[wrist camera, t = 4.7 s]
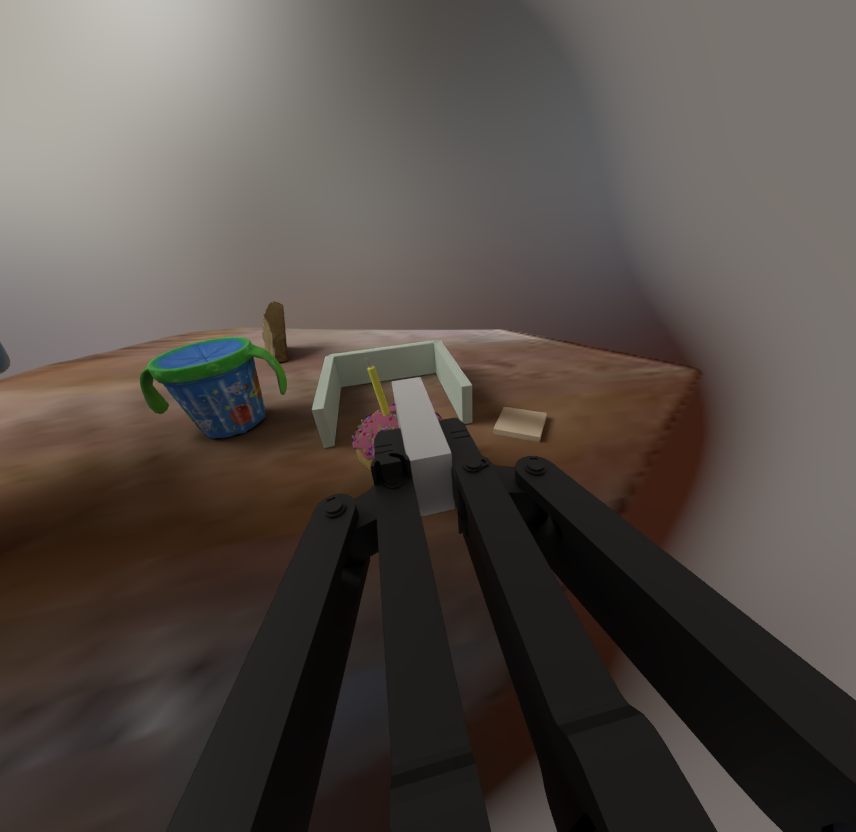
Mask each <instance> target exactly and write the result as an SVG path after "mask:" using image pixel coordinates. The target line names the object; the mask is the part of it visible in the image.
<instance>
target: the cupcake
mask: <svg viewBox="0 0 856 832" xmlns="http://www.w3.org/2000/svg"><path fill="white" fill-rule="evenodd" d="M365 359H366V361H367V364H368V366H369V368H368V369H367V370H368V373H369V376H370V379H371V381H372V384H373V387H374V390H375V393H376V396H377V399H378V402H379V404H380V407H381V409H379V410H377V411H375V413H373V414H371V415H369V416H367V417H366V419H365V420H361V422H362V421H364V422H362V424H361V425H359V426H358V427H357V428H356V431H355V435H352V438H353V439H352V440H353V448H354V449H355V448H356V452H357V456H358V459H359V461H360V463H361V464H362V465H363V466H365V467H366V468H367V469H368V470H370V471H371V468H370V466H371V462H372V461H373V460H374V458H375V451H374V438H375V436H376V435H377V433H378V432H380V431H386V430H392V429H398V428H399V425H398V418H397V412H396V406H395V404H394V405H393V406H389V407H388V404H387V401H386V398H385V395H384V392H383V389H382V386H381V383H380V380H379V377H378V374H377V371H376V368H375V366H371V364H370V362H369V360H368V358H365ZM435 414H436V417H437V419H438V421H439V420H443V419H442V417H441V416H440V415H439V414H438V413H437V412H436V413H435ZM357 429H358V430H357Z"/></svg>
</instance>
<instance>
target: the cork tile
mask: <svg viewBox="0 0 856 832" xmlns="http://www.w3.org/2000/svg"><path fill="white" fill-rule="evenodd" d="M546 416H547V413H543V412H536V411H529V410H522V409H516V408H509V407H504V408H503V410H502V412H501V414H500V416H499V418H498V420H497V423H496V425H495V427H494V429H493V434H497V435H503V436H508V437H513V438H519V439H524V440H529V441H535V442H540V439H541V436H542V432H543V428H544V425H545V421H546Z"/></svg>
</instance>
